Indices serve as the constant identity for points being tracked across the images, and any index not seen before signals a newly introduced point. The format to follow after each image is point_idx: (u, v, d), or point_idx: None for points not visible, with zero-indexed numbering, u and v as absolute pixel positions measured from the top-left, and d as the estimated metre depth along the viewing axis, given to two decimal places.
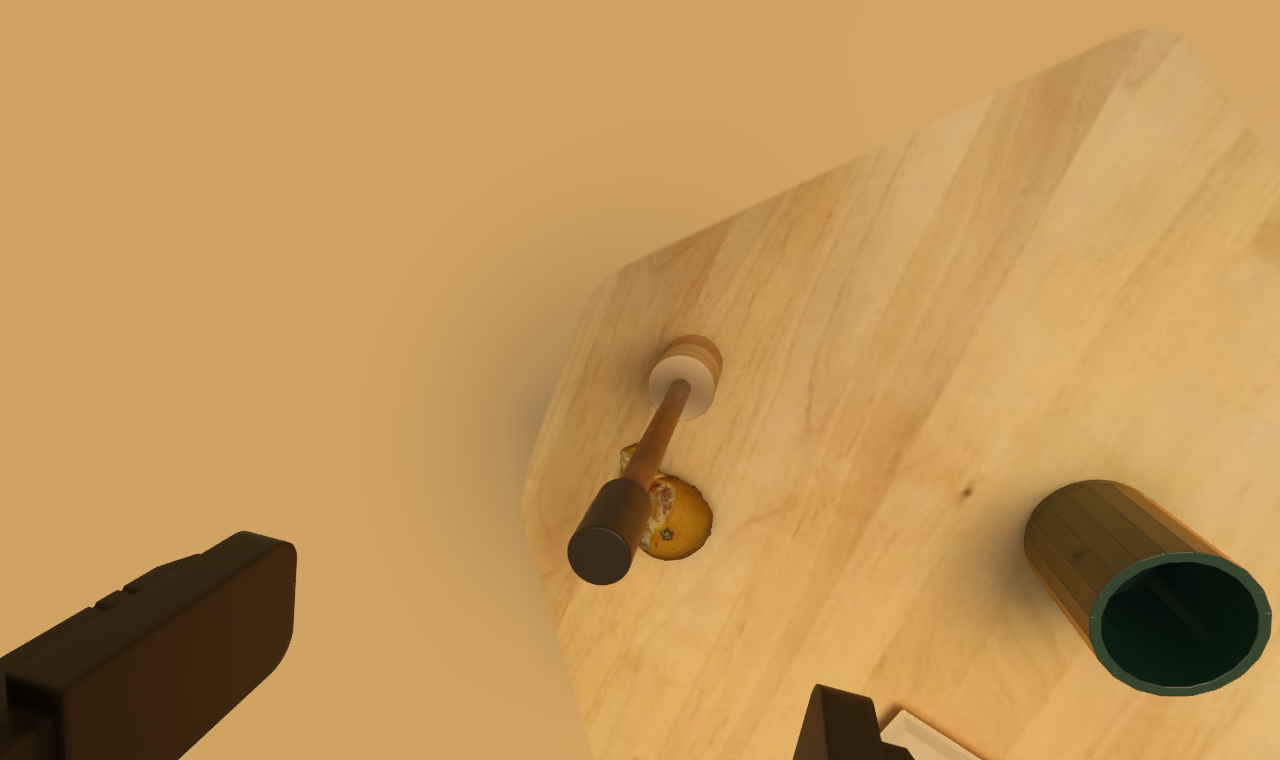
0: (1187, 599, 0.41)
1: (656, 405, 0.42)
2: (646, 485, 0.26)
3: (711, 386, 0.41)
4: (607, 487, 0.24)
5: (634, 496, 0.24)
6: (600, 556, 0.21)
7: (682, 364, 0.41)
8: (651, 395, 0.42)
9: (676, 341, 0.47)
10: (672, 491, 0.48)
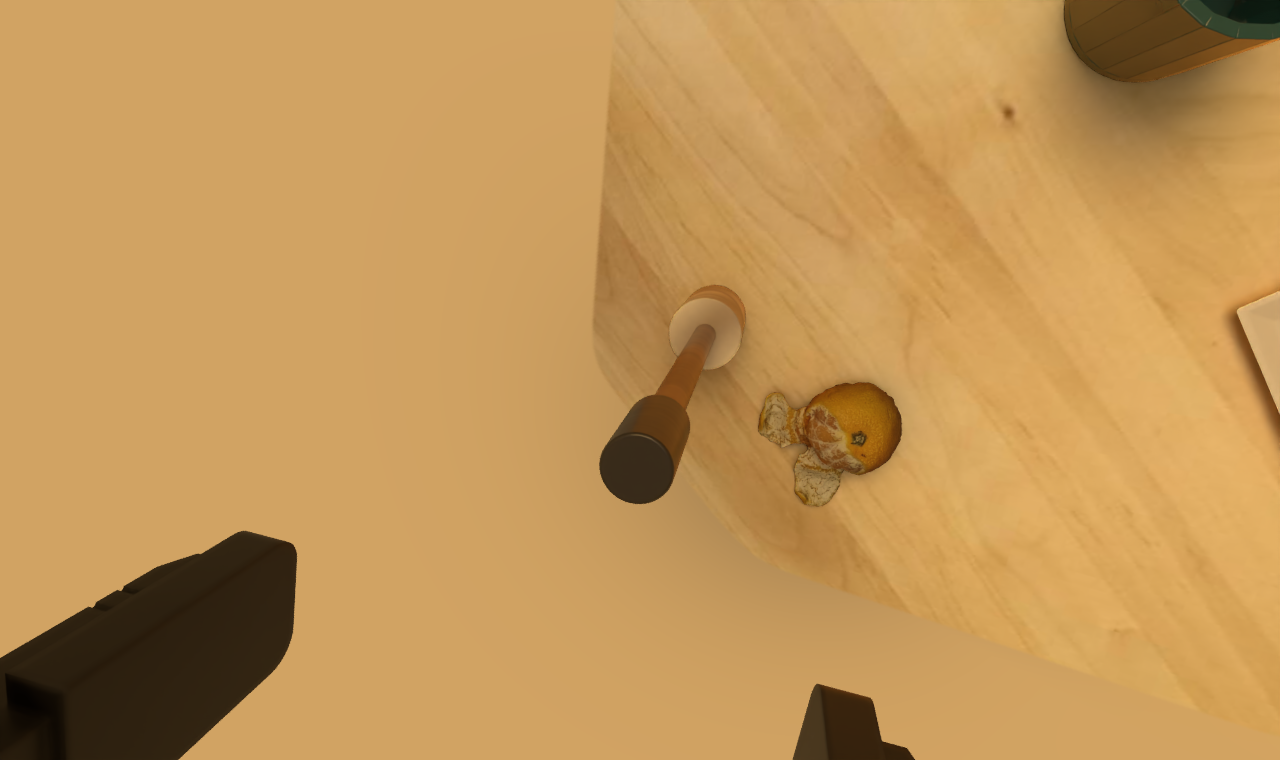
0: None
1: (707, 367, 0.39)
2: (668, 396, 0.23)
3: (718, 304, 0.38)
4: None
5: (639, 406, 0.21)
6: (637, 467, 0.18)
7: (682, 319, 0.38)
8: None
9: None
10: (820, 407, 0.43)
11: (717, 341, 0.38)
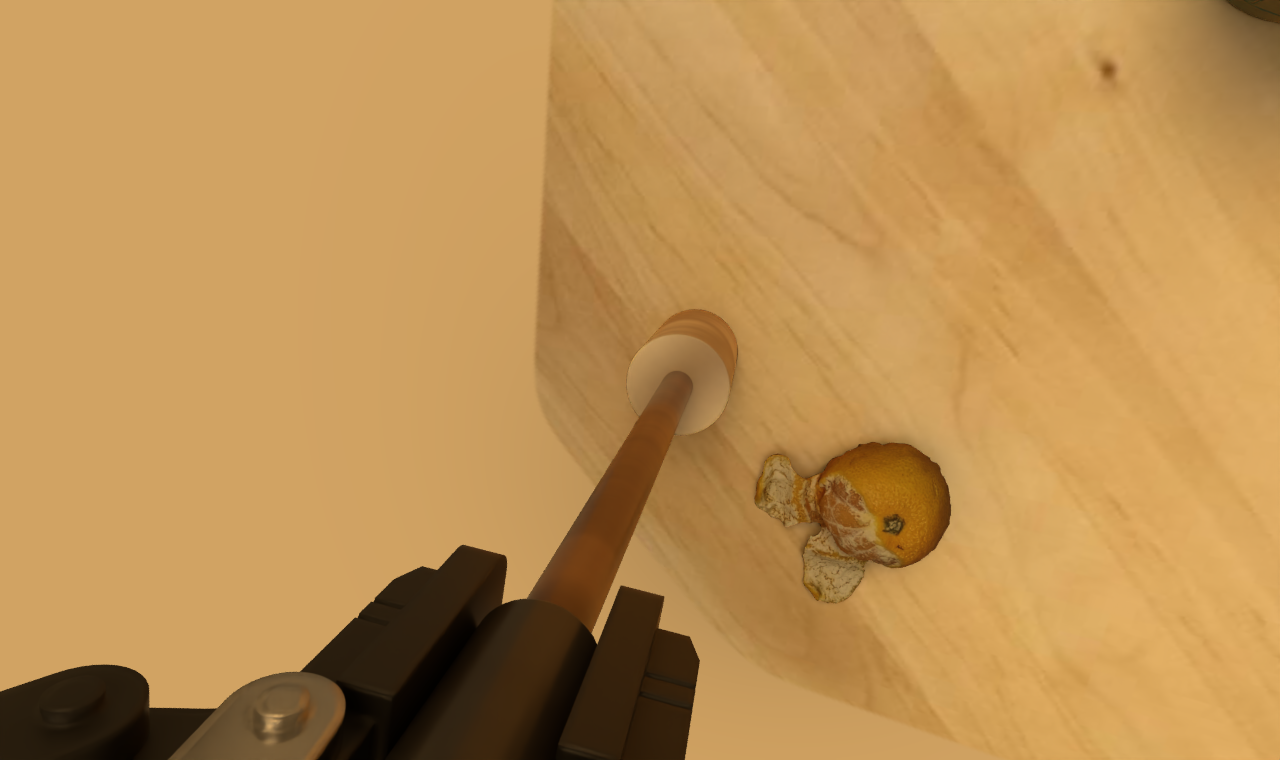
0: None
1: (681, 431, 0.27)
2: (569, 575, 0.12)
3: (696, 343, 0.26)
4: None
5: (479, 645, 0.09)
6: None
7: (645, 364, 0.27)
8: None
9: None
10: (839, 479, 0.31)
11: (694, 395, 0.27)
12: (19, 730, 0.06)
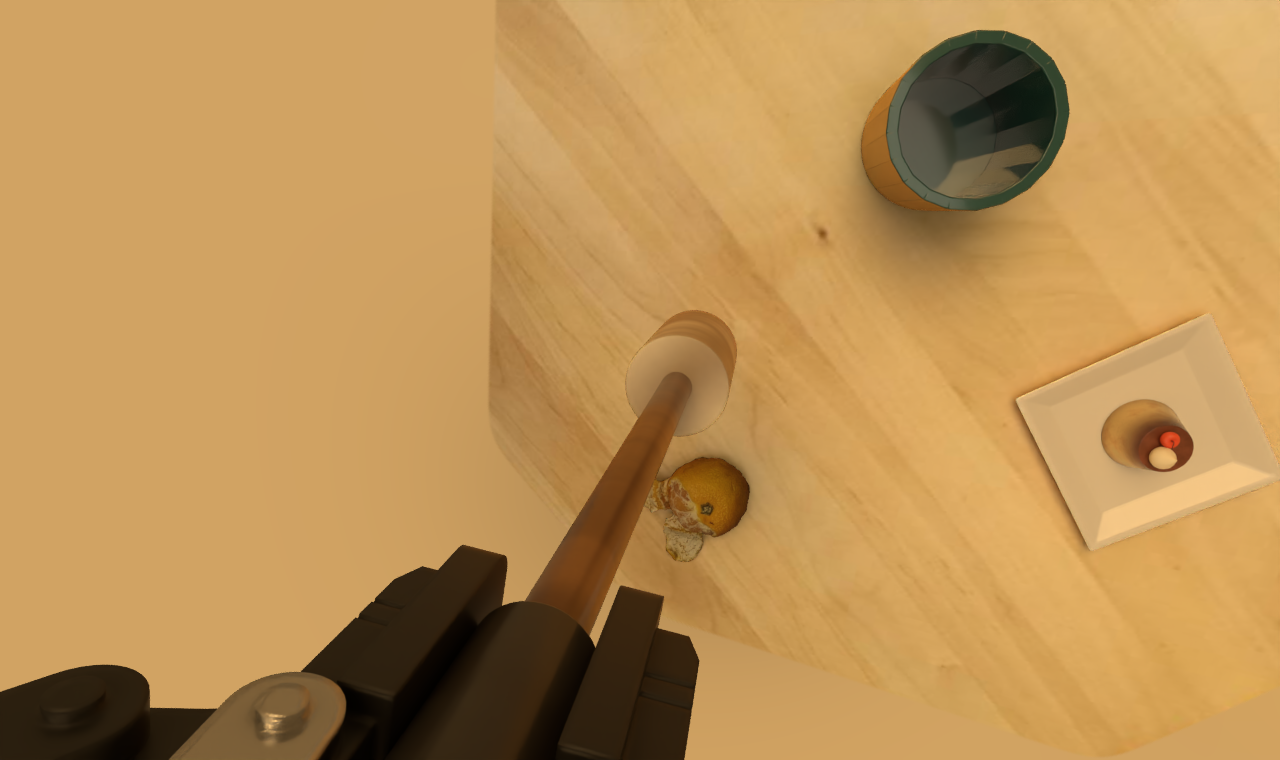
0: (1005, 88, 0.39)
1: (681, 432, 0.27)
2: (568, 577, 0.12)
3: (696, 345, 0.26)
4: None
5: (477, 648, 0.09)
6: None
7: (645, 365, 0.27)
8: None
9: None
10: (676, 481, 0.50)
11: (694, 396, 0.27)
12: (19, 731, 0.06)
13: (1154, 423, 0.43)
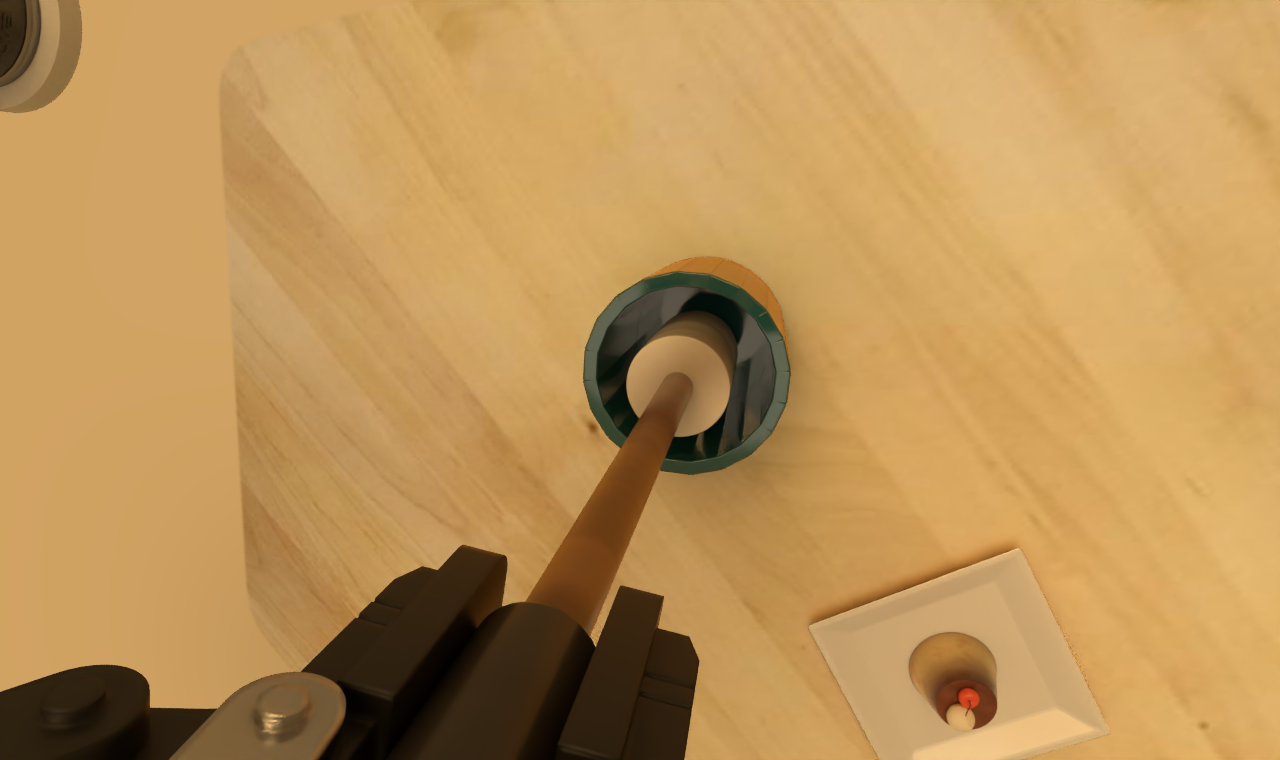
0: None
1: (682, 432, 0.27)
2: (568, 578, 0.12)
3: (696, 345, 0.26)
4: None
5: (477, 649, 0.09)
6: None
7: (645, 365, 0.27)
8: None
9: None
10: None
11: (695, 396, 0.27)
12: (19, 730, 0.06)
13: (953, 673, 0.37)
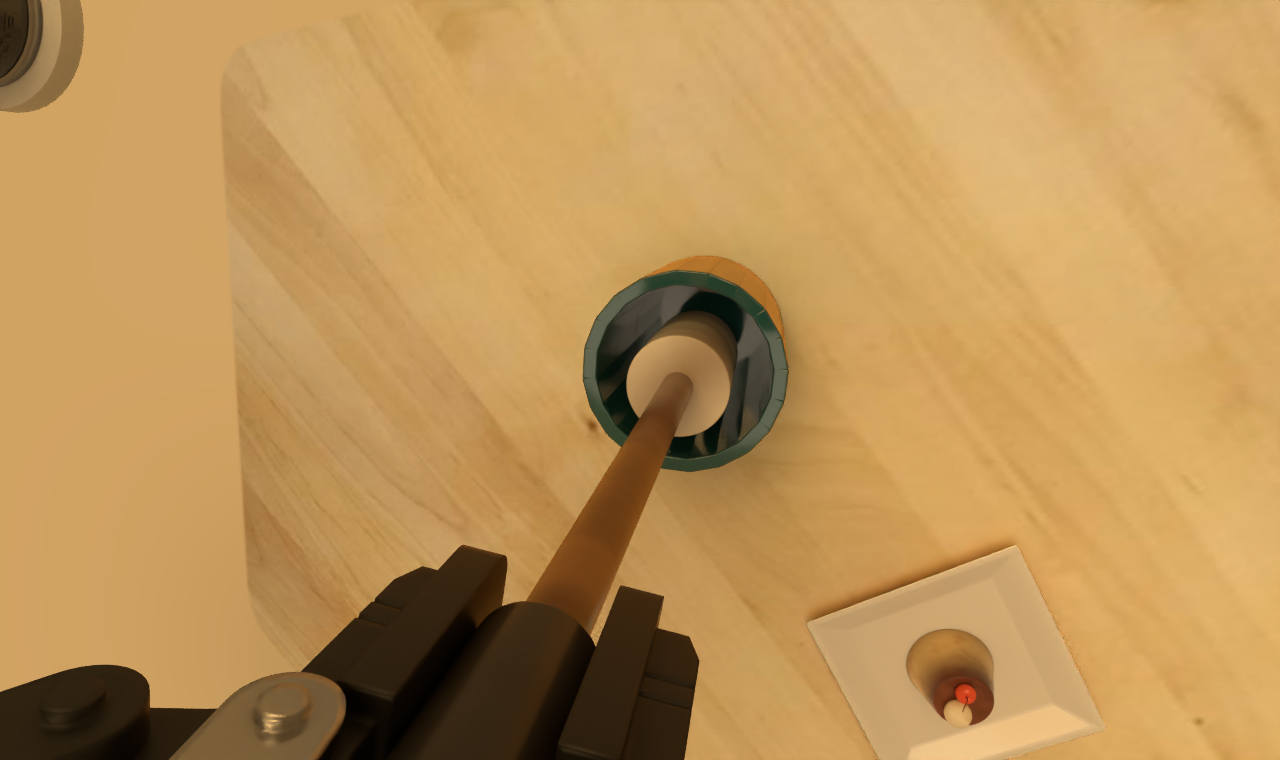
0: None
1: (682, 432, 0.27)
2: (568, 578, 0.12)
3: (696, 345, 0.26)
4: None
5: (478, 648, 0.09)
6: None
7: (645, 365, 0.27)
8: None
9: None
10: None
11: (694, 397, 0.27)
12: (18, 731, 0.06)
13: (951, 669, 0.37)
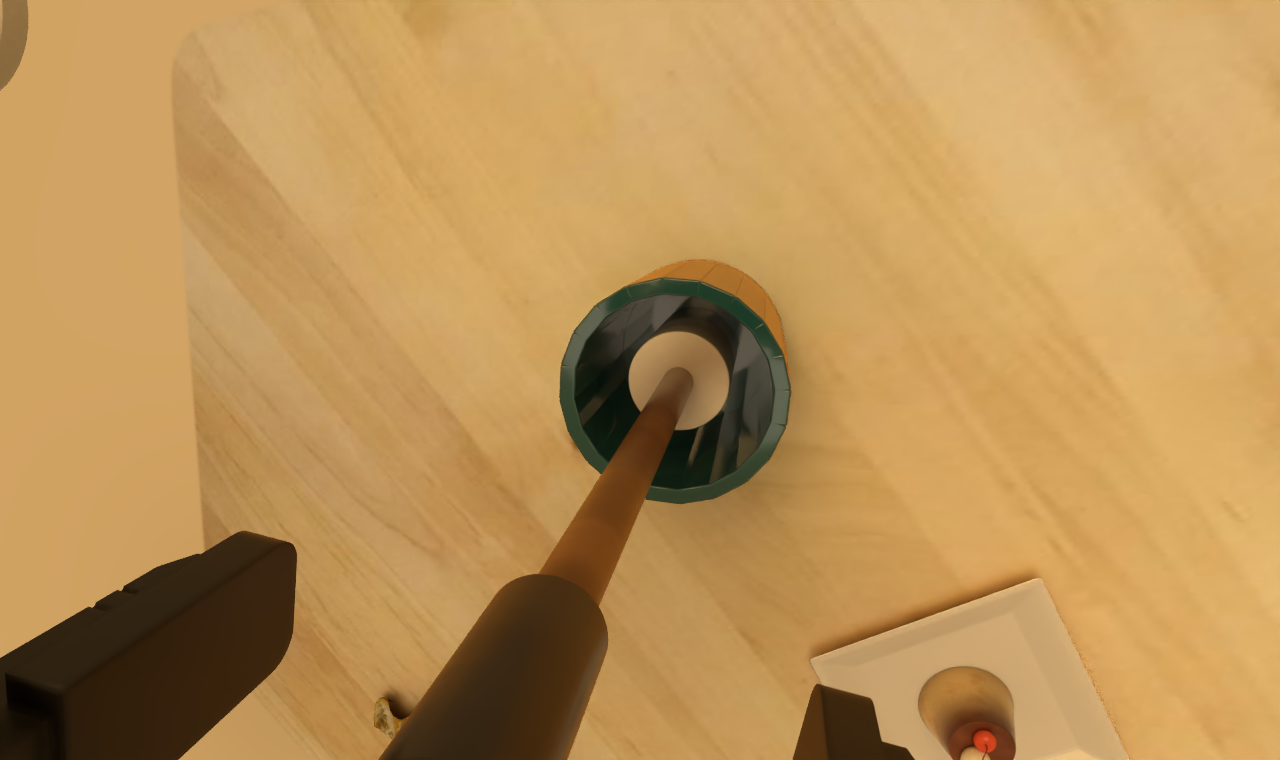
0: None
1: (682, 426, 0.28)
2: (577, 555, 0.12)
3: (697, 341, 0.27)
4: None
5: (495, 615, 0.10)
6: None
7: (647, 360, 0.28)
8: None
9: None
10: None
11: (695, 391, 0.27)
12: None
13: (968, 713, 0.34)
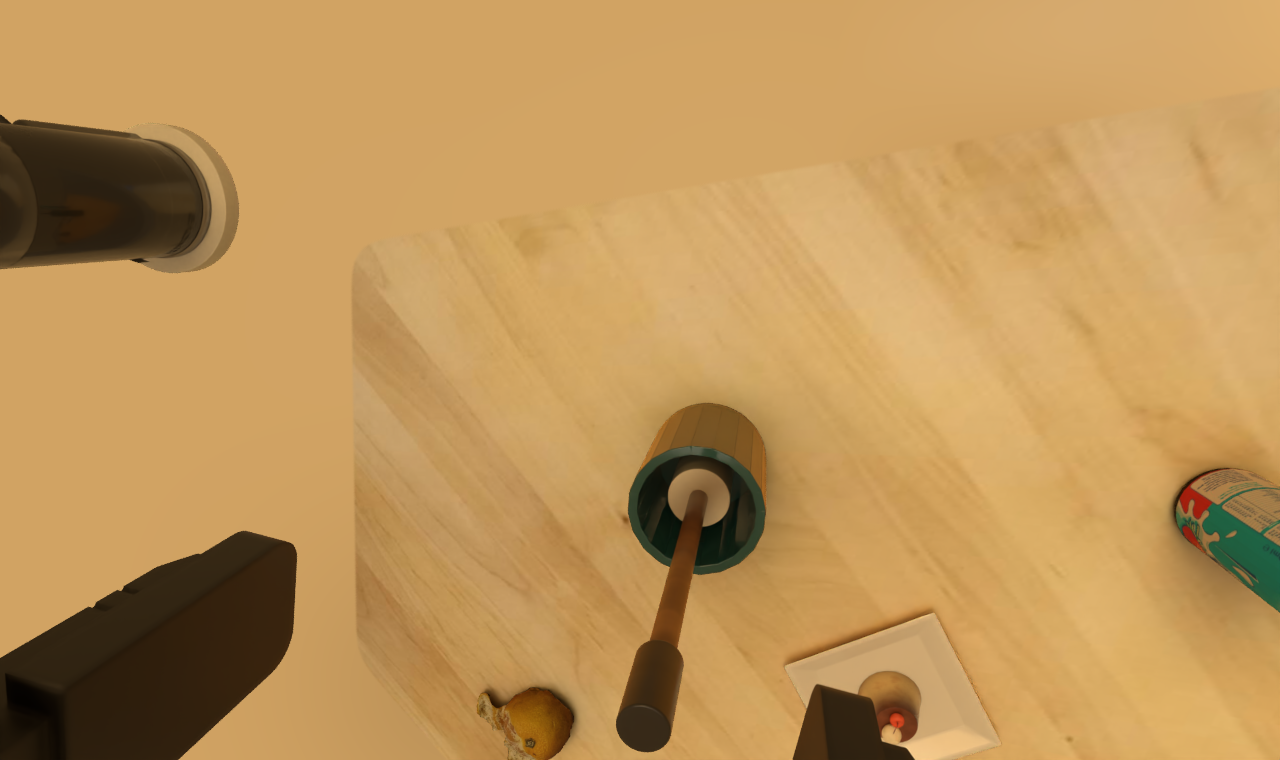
0: None
1: None
2: (667, 628, 0.30)
3: (710, 474, 0.45)
4: None
5: (645, 657, 0.27)
6: (644, 727, 0.25)
7: (679, 485, 0.45)
8: None
9: None
10: (508, 714, 0.58)
11: (709, 504, 0.45)
12: None
13: (887, 702, 0.51)
